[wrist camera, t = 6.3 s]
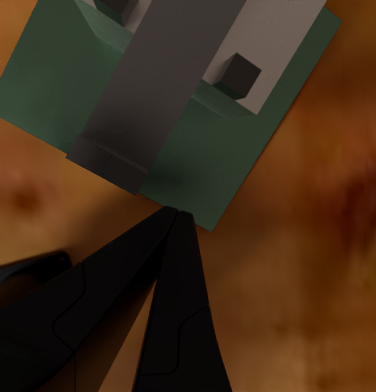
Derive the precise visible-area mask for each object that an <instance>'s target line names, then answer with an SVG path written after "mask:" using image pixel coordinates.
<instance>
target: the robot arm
mask: <svg viewBox="0 0 376 392" xmlns="http://www.w3.org/2000/svg"><path fill="white" fill-rule="evenodd" d="M58 257H63V258H64V261H59V259H58ZM157 276H158V277H157ZM156 279H157V281H156ZM155 281H156V285H155V289H154V294H153V298H152V303H151V307H150V311H149V316H148V320H147V325H146V329H145V333H144V338H143V342H142V347H141V351H140V355H139V360H138V364H137V369H136V373H135V378H134V382H133V386H132V391H131V392H232V389H231V386H230V382H229V379H228V376H227V373H226V370H225V367H224V364H223V360H222V357H221V353H220V350H219V346H218V343H217V339H216V335H215V331H214V326H213V321H212V316H211V310H210V307H209V300H208V294H207V289H206V283H205V277H204V272H203V266H202V261H201V255H200V249H199V244H198V238H197V232H196V227H195V221H194V216H193V214H192V213H190V212H186V211H183V210H180V211H179V210H178V209H177V208H174V207H171V206H168V205H166V206H164V207H162V208H161V209H159V210H158V211H156V212H155V213H153V214H152V215H150V216H149V217H147V218H146V219H144V220H143V221H141V222H140V223H138V224H137V225H135V226H134V227H132V228H131V229H129V230H128V231H126V232H125V233H123V234H122V235H120V236H119V237H117V238H116V239H114V240H113V241H111V242H109V243H108V244H106V245H105V246H103V247H102V248H100V249H99V250H97V251H96V252H94V253H93V254H91V255H90V256H88V257H87V258H85V259H84V260H82V263H81V262H79V263H77V264H76V265H74V266H73V265H72V262H71V260H70V257H69V255H68V253H66V252H64V251H59V252H55V253H52V254H48V255H45V256H41V257H37V258H34V259H30V260H27V261H23V262H19V263H16V264H12V265H9V266H5V267H1V268H0V392H98V391H99V389H100V387H101V385H102V383H103V381H104V379H105V377H106V375H107V373H108V371H109V370H110V368H111V366H112V364H113V362H114V360H115V358H116V356H117V354H118V352H119V350H120V348H121V347H122V345H123V343H124V341H125V339H126V337H127V335H128V333H129V331H130V329H131V327H132V325H133V324H134V322H135V320H136V318H137V316H138V314H139V312H140V310H141V308H142V306H143V304H144V302H145V301H146V299H147V297H148V295H149V293H150V291H151V289H152V287H153V285H154V283H155Z"/></svg>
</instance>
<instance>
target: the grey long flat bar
mask: <svg viewBox="0 0 376 392" xmlns="http://www.w3.org/2000/svg"><path fill="white" fill-rule="evenodd" d="M246 1H247V0H152V1H151V3H150V5H149V7H148V9H147V11H146V12H145V14H144V16H143V18H142V20H141V22H140V24H139V26H138V27H137V29H136V31H135V33H134V35H133V37H132V39H131V41H130V42H129V44H128V46H127V48H126V50H125V52H124V54H123V55H122V57H121V59H120V61H119V63H118V65H117V67H116V69H115V70H114V72H113V74H112V76H111V78H110V80H109V82H108V84H107V85H106V87H105V89H104V91H103V93H102V95H101V97H100V99H99V100H98V102H97V104H96V106H95V108H94V110H93V112H92V113H91V115H90V117H89V119H88V121H87V123H86V125H85V127H84V128H83V130H82V132H81V134H79V135H77V137H76V139H75V141H74V143H73V145H72V147H71V148H70V150H69V152H68V154H67V156H66V158H67V159H69V160H70V161H72V162H74V163H76V164H78V165H80V166H82V167H83V168H85V169H87V170H89V171H91V172H93V173H94V174H96V175H98V176H100V177H102V178H104V179H106V180H107V181H109V182H111V183H113V184H115V185H117V186H119V187H120V188H122V189H124V190H126V191H128V192H130V193H132V194H133V195H136V194H137V192H138V190H139V188H140V187H141V185H142V183H143V181H144V180H145V178H146V176H147V175H148V171H149V169H150V167H151V166H152V164H153V162H154V160H155V159H156V157H157V155H158V153H159V152H160V150H161V148H162V147H163V145H164V143H165V141H166V140H167V138H168V136H169V134H170V133H171V131H172V129H173V127H174V126H175V124H176V122H177V120H178V119H179V117H180V115H181V114H182V112H183V110H184V108H185V107H186V105H187V103H188V101H189V100H190V98H191V96H192V94H193V93H194V91H195V89H196V87H197V86H198V84H199V82H200V80H201V79H202V77H203V75H204V74H205V72H206V70H207V68H208V67H209V65H210V63H211V61H212V60H213V58H214V56H215V54H216V53H217V51H218V49H219V47H220V46H221V44H222V42H223V41H224V39H225V37H226V35H227V34H228V32H229V30H230V28H231V27H232V25H233V23H234V21H235V20H236V18H237V16H238V14H239V13H240V11H241V9H242V8H243V6H244V4H245V2H246Z"/></svg>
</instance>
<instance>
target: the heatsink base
mask: <svg viewBox="0 0 376 392" xmlns="http://www.w3.org/2000/svg"><path fill="white" fill-rule="evenodd" d="M151 1H152V0H38V2H37V4H36V6H35V8H34V10H33V12H32V14H31V16H30V18H29V20H28V22H27V24H26V26H25V28H24V30H23V32H22V34H21V37H20V39H19V41H18V43H17V45H16V47H15V49H14V51H13V53H12V55H11V57H10V59H9V61H8V63H7V65H6V67H5V69H4V71H3V74H2V76H1V78H0V118H2V119H4V120H6V121H8V122H10V123H11V124H13V125H15V126H17V127H19V128H21V129H22V130H24V131H26V132H28V133H30V134H32V135H34V136H35V137H37V138H39V139H41V140H43V141H45V142H46V143H48V144H50V145H52V146H54V147H56V148H57V149H59V150H61V151H63V152H65V153H67V154H68V152H69V150H70V148H71V147H72V145H73V143H74V141H75V139H76V137H77V135H79V134H81V132H82V130H83V128H84V127H85V125H86V123H87V121H88V119H89V117H90V115H91V113H92V112H93V110H94V108H95V106H96V104H97V102H98V100H99V99H100V97H101V95H102V93H103V91H104V89H105V87H106V85H107V84H108V82H109V80H110V78H111V76H112V74H113V72H114V70H115V69H116V67H117V65H118V63H119V61H120V59H121V57H122V55H123V54H124V52H125V50H126V48H127V46H128V44H129V42H130V41H131V39H132V37H133V35H134V33H135V31H136V29H137V27H138V26H139V24H140V22H141V20H142V18H143V16H144V14H145V12H146V11H147V9H148V7H149V5H150V3H151ZM326 1H327V0H247V1H246V2H245V4H244V6H243V8H242V9H241V11H240V13H239V14H238V16H237V18H236V20H235V21H234V23H233V25H232V27H231V28H230V30H229V32H228V34H227V35H226V37H225V39H224V41H223V42H222V44H221V46H220V47H219V49H218V51H217V53H216V54H215V56H214V58H213V60H212V61H211V63H210V65H209V67H208V68H207V70H206V72H205V74H204V75H203V77H202V79H201V80H200V82H199V84H198V86H197V87H196V89H195V91H194V93H193V94H192V96H191V98H190V100H189V101H188V103H187V105H186V107H185V108H184V110H183V112H182V114H181V115H180V117H179V119H178V120H177V122H176V124H175V126H174V127H173V129H172V131H171V133H170V134H169V136H168V138H167V140H166V141H165V143H164V145H163V147H162V148H161V150H160V152H159V153H158V155H157V157H156V159H155V160H154V162H153V164H152V166H151V167H150V169H149V171H148V175H147V176H146V178H145V180H144V181H143V183H142V185H141V187H140V188H139V190H138V193H140V194H142V195H144V196H146V197H148V198H149V199H151V200H153V201H155V202H157V203H159V204H160V205H162V206H166V205H168V206H171V207H174V208H177V209H178V210H179V211H180V210H183V211H186V212H190V213H192V214H193V216H194V221H195V224H197V225H199V226H201V227H203V228H205V229H206V230H208V231H210V232H212V230H213V229H214V227H215V226H216V224H217V222H218V221H219V219H220V218H221V216H222V214H223V213H224V211H225V210H226V208H227V206H228V205H229V203H230V202H231V200H232V198H233V197H234V195H235V193H236V192H237V190H238V189H239V187H240V185H241V184H242V182H243V181H244V179H245V177H246V176H247V174H248V173H249V171H250V169H251V168H252V166H253V165H254V163H255V161H256V160H257V158H258V157H259V155H260V153H261V152H262V150H263V148H264V147H265V145H266V144H267V142H268V140H269V139H270V137H271V136H272V134H273V132H274V131H275V129H276V128H277V126H278V124H279V123H280V121H281V120H282V118H283V116H284V115H285V113H286V111H287V110H288V108H289V107H290V105H291V103H292V102H293V100H294V99H295V97H296V95H297V94H298V92H299V91H300V89H301V87H302V86H303V84H304V83H305V81H306V79H307V78H308V76H309V75H310V73H311V71H312V70H313V68H314V66H315V65H316V63H317V62H318V60H319V58H320V57H321V55H322V54H323V52H324V50H325V49H326V47H327V46H328V44H329V42H330V41H331V39H332V38H333V36H334V34H335V33H336V31H337V29H338V28H339V26H340V25H341V23H342V20H341V19H339V18H338V17H337V16H336V15H334V14H333V13H332V12H331V11H329V10H328V9H327V8H325V7H324V4H325V2H326Z"/></svg>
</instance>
